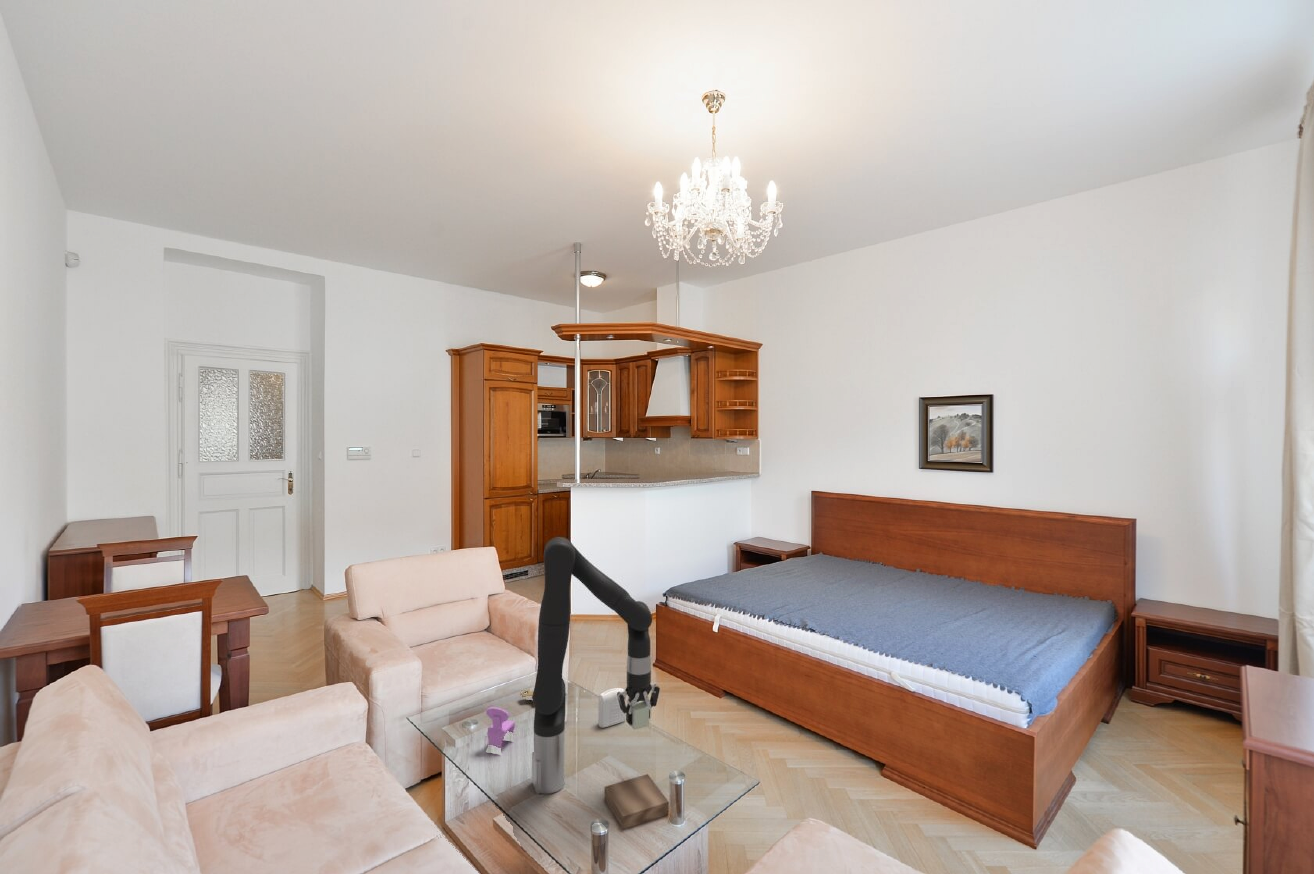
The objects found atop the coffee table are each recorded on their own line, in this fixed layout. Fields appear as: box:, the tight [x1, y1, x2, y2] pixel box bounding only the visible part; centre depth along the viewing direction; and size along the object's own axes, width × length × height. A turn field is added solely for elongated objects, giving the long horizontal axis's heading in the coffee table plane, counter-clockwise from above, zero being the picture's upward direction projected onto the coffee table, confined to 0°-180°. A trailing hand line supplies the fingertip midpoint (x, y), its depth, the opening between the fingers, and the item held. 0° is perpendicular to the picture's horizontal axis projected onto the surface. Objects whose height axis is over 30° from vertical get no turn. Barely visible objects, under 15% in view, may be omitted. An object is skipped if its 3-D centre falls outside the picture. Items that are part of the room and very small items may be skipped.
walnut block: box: [603, 773, 670, 830], centre depth 169 cm, size 14×14×4 cm
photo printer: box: [597, 687, 626, 729], centre depth 214 cm, size 10×4×12 cm, turn 123°
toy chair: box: [485, 706, 516, 749], centre depth 198 cm, size 8×9×15 cm
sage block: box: [630, 701, 650, 731], centre depth 182 cm, size 5×5×6 cm
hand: (638, 721), depth 182 cm, fingers closed on sage block, 5 cm apart
